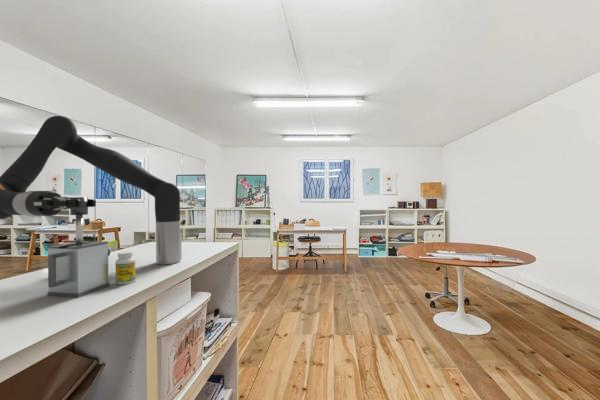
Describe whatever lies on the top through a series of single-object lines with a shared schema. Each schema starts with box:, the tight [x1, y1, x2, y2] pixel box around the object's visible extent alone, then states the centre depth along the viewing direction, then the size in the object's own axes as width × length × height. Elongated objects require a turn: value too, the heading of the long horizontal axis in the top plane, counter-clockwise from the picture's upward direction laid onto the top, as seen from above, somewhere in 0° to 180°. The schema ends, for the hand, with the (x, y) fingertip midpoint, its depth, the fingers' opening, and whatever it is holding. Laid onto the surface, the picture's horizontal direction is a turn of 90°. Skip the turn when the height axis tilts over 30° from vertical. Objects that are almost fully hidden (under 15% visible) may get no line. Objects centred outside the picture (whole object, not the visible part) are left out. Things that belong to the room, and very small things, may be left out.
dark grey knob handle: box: [69, 196, 89, 245], centre depth 79 cm, size 7×7×18 cm
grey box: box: [46, 240, 111, 298], centre depth 78 cm, size 13×10×14 cm
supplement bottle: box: [115, 250, 137, 285], centre depth 87 cm, size 5×5×10 cm
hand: (87, 203), depth 79 cm, fingers closed on dark grey knob handle, 4 cm apart
